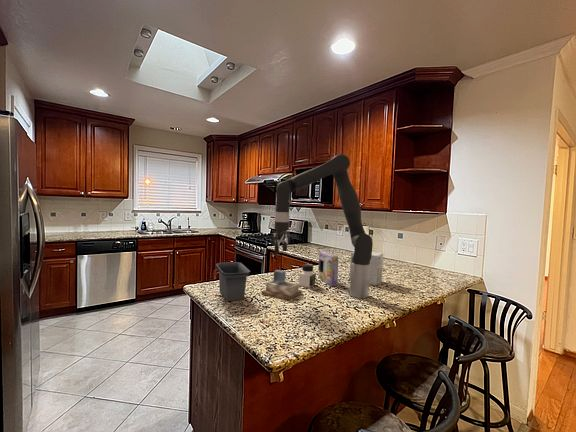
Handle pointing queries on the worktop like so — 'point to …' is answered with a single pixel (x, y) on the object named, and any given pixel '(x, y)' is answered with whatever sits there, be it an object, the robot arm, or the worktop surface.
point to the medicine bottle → (307, 276)
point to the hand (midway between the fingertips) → (280, 252)
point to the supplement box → (373, 268)
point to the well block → (282, 290)
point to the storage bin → (232, 280)
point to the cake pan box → (328, 268)
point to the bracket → (279, 277)
